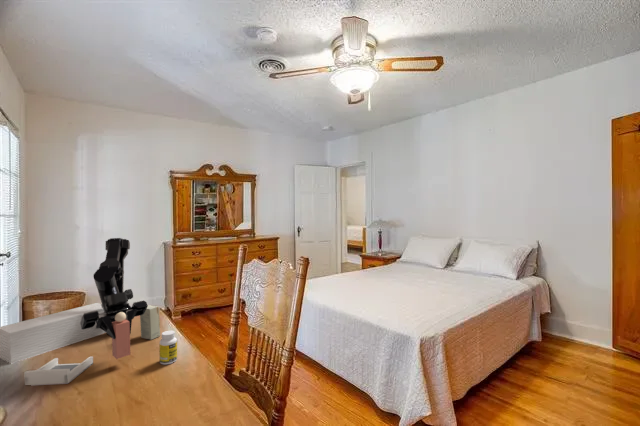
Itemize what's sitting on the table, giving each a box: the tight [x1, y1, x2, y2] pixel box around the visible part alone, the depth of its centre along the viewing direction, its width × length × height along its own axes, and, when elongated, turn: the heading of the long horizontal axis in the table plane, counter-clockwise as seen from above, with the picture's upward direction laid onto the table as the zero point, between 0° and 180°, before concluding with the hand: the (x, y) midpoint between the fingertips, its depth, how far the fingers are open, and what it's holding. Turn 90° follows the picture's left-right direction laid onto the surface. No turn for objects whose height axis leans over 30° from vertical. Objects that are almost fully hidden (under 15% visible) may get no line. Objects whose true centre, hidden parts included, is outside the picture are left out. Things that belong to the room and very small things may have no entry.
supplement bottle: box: [158, 330, 178, 365], centre depth 109 cm, size 5×5×10 cm
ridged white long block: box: [0, 302, 106, 364], centre depth 124 cm, size 32×11×11 cm, turn 151°
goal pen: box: [23, 356, 94, 386], centre depth 101 cm, size 12×12×4 cm
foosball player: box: [111, 312, 131, 360], centre depth 106 cm, size 4×4×14 cm
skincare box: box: [139, 304, 161, 340], centre depth 129 cm, size 6×4×12 cm
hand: (122, 336), depth 105 cm, fingers closed on foosball player, 4 cm apart
